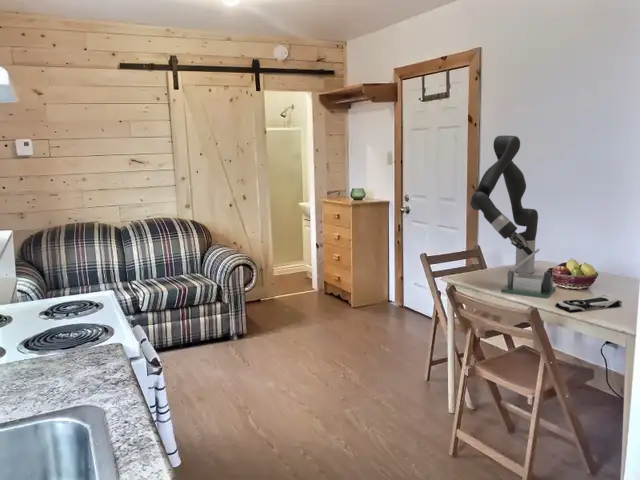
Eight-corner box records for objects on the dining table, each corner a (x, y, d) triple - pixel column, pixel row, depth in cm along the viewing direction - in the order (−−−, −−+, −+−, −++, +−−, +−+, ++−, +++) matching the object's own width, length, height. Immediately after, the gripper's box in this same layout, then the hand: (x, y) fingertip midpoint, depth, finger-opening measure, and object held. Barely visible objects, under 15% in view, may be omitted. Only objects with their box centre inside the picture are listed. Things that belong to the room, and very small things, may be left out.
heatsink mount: (501, 292, 246) (501, 270, 244) (510, 284, 259) (511, 264, 257) (547, 298, 235) (548, 275, 233) (555, 289, 248) (556, 268, 246)
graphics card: (622, 300, 220) (569, 306, 214) (621, 308, 221) (569, 314, 214) (603, 294, 230) (552, 299, 223) (602, 301, 230) (552, 307, 224)
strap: (510, 274, 249) (507, 271, 249) (511, 272, 251) (509, 270, 251) (539, 251, 240) (536, 248, 240) (540, 250, 242) (538, 247, 243)
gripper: (505, 222, 241) (534, 251, 236) (513, 219, 252) (541, 246, 247) (493, 233, 245) (521, 262, 240) (502, 229, 256) (529, 257, 251)
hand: (531, 254), depth 243 cm, fingers closed
